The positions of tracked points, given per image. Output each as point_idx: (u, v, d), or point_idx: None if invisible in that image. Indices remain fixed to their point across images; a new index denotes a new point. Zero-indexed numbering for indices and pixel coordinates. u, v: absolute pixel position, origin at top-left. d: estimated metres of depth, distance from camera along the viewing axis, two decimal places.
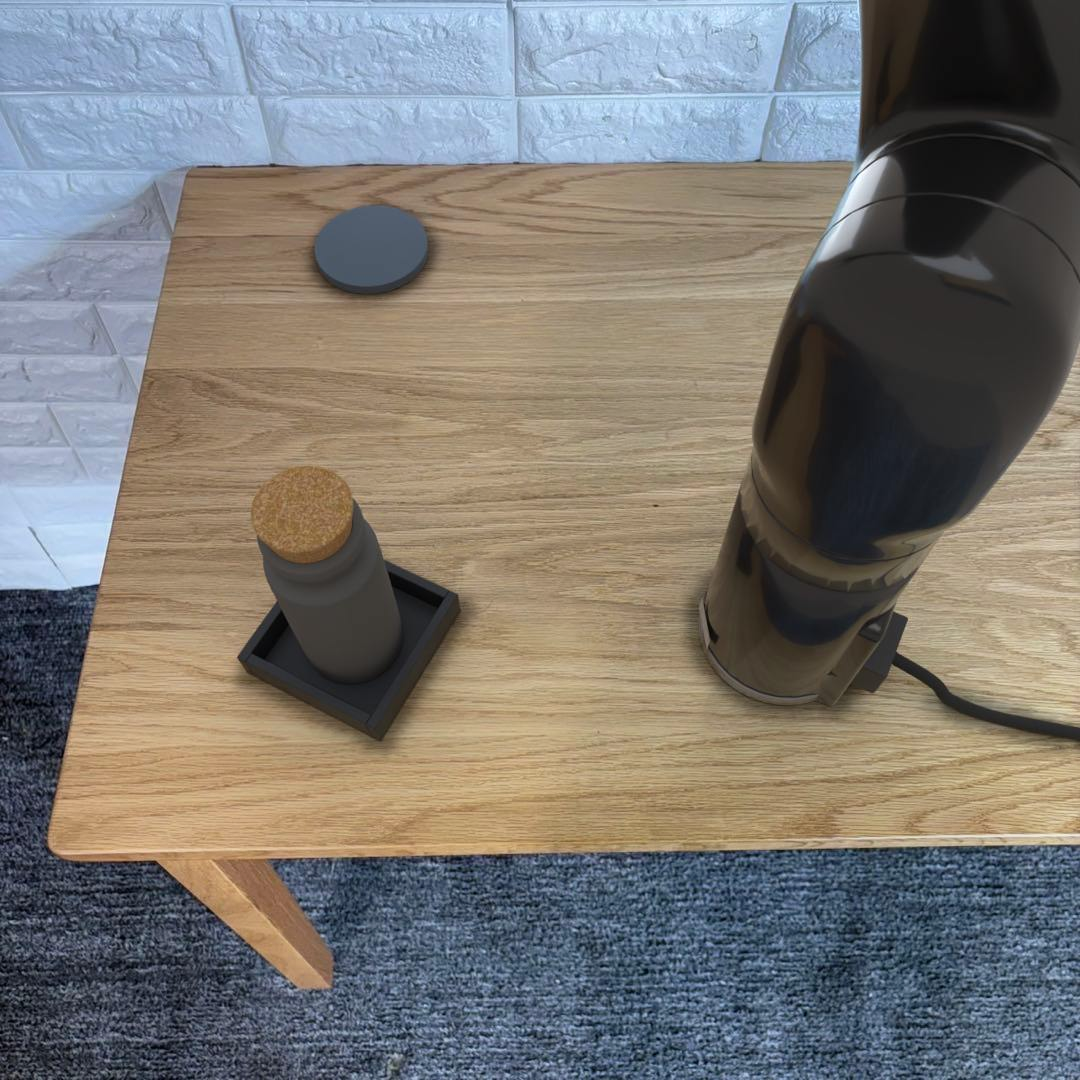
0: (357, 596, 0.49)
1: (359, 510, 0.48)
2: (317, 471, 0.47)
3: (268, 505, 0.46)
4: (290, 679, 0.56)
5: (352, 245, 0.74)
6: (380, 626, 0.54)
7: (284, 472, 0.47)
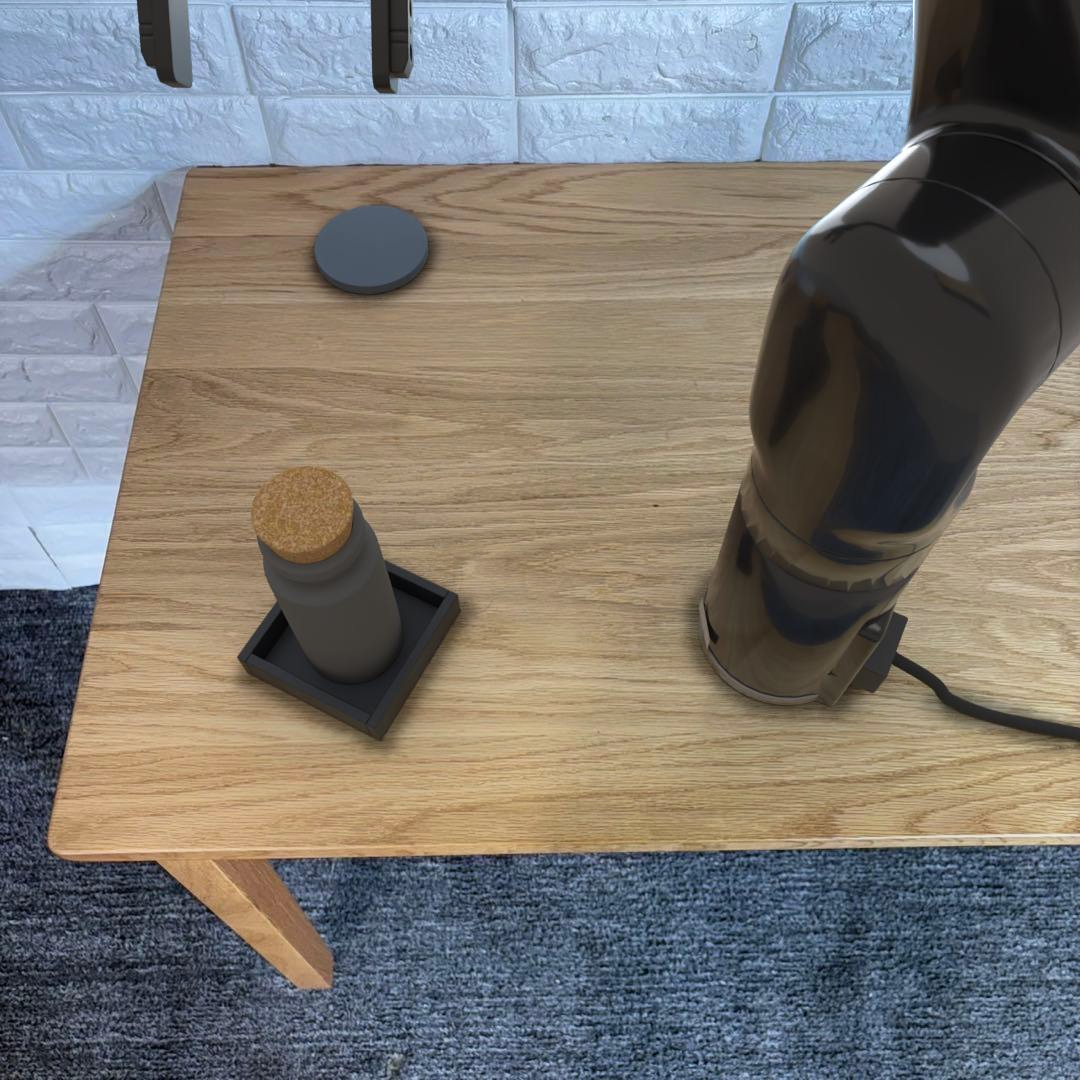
0: (357, 596, 0.49)
1: (359, 510, 0.48)
2: (317, 471, 0.47)
3: (268, 506, 0.46)
4: (290, 679, 0.56)
5: (352, 245, 0.74)
6: (380, 626, 0.54)
7: (284, 472, 0.47)
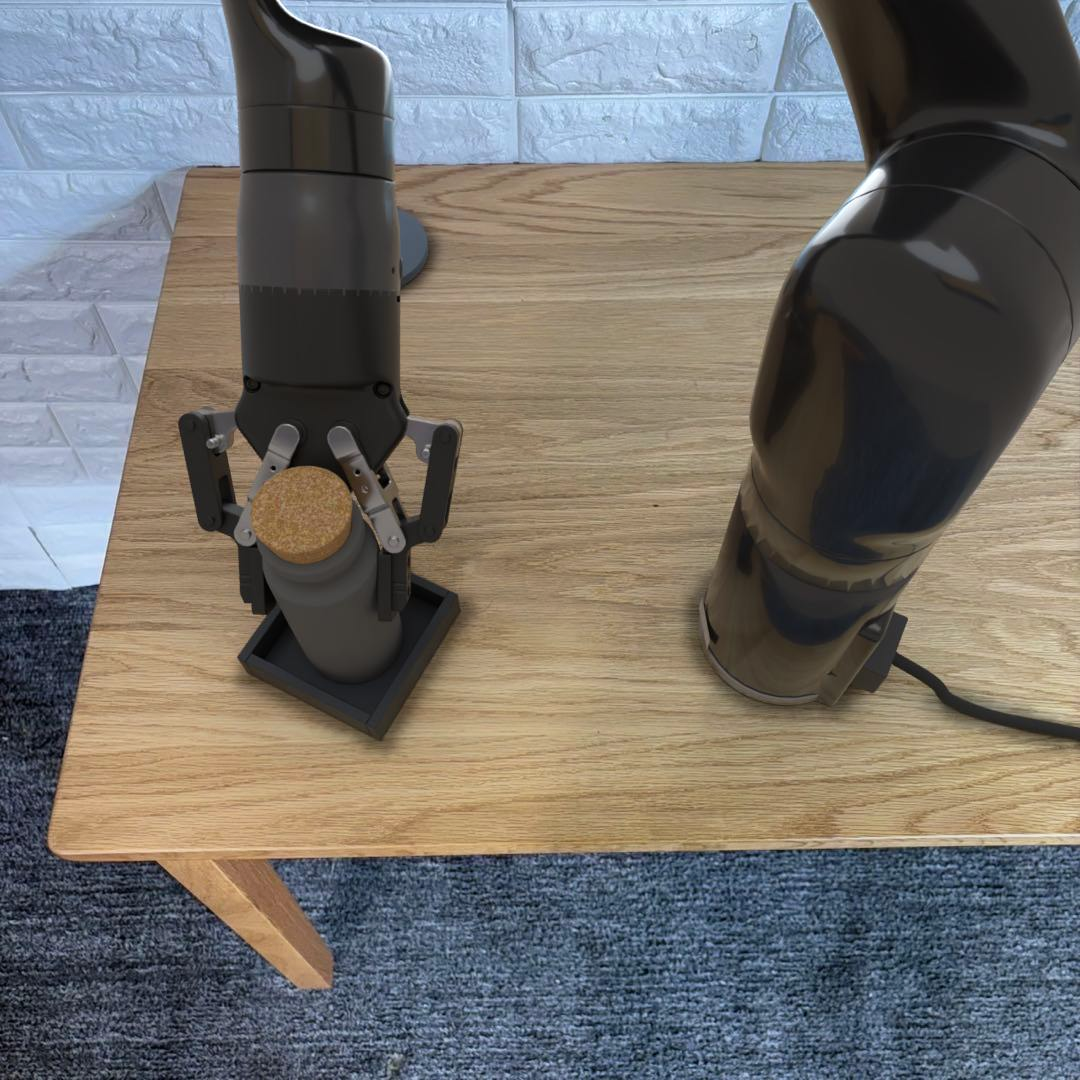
0: (356, 596, 0.49)
1: (358, 510, 0.48)
2: (316, 471, 0.47)
3: (267, 506, 0.46)
4: (290, 679, 0.56)
5: None
6: (380, 626, 0.54)
7: (283, 472, 0.47)
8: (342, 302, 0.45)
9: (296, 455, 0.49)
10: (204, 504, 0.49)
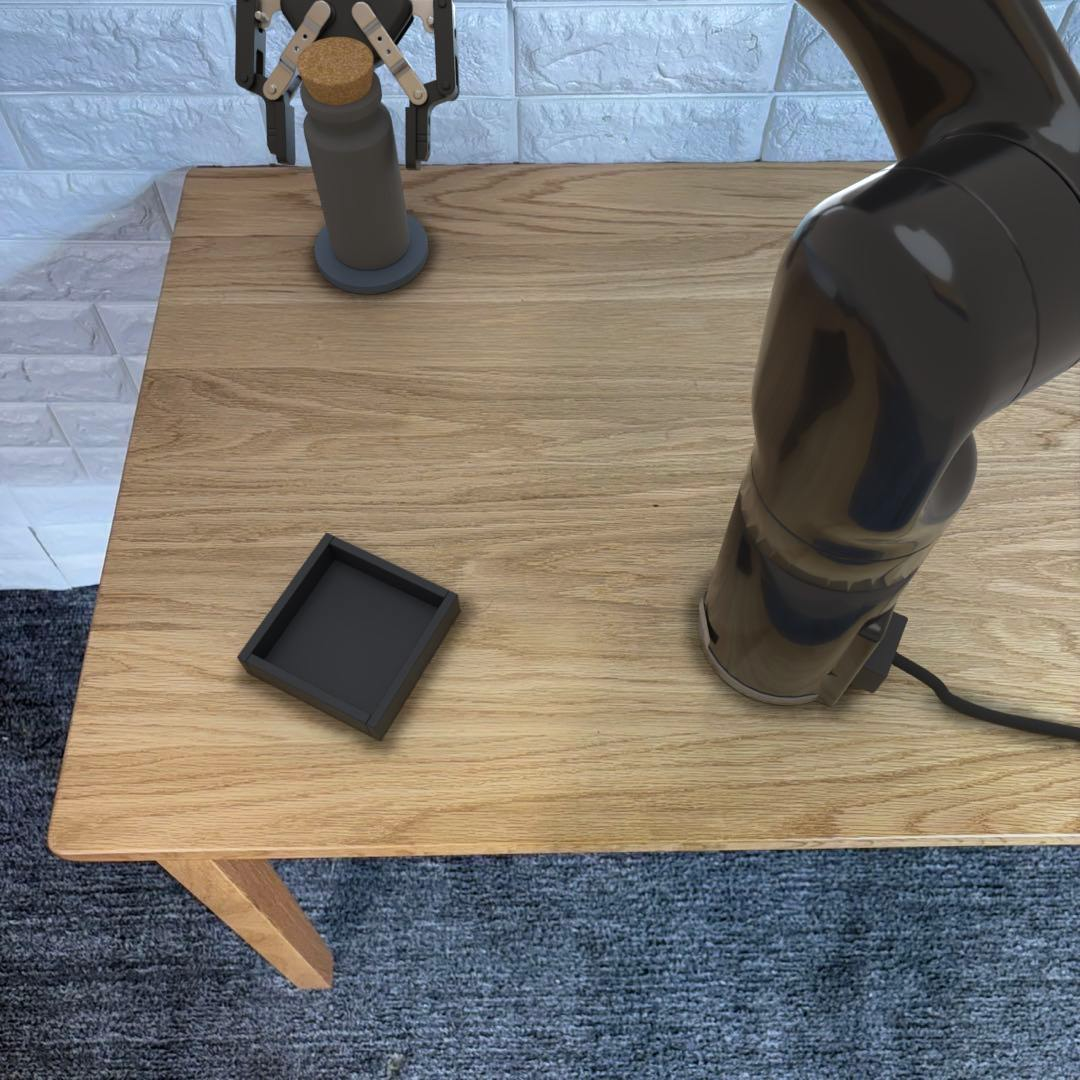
0: (375, 150, 0.65)
1: (377, 76, 0.64)
2: (346, 39, 0.62)
3: (309, 58, 0.61)
4: (290, 679, 0.56)
5: None
6: (392, 201, 0.69)
7: (321, 40, 0.62)
8: None
9: (327, 32, 0.64)
10: (242, 64, 0.64)
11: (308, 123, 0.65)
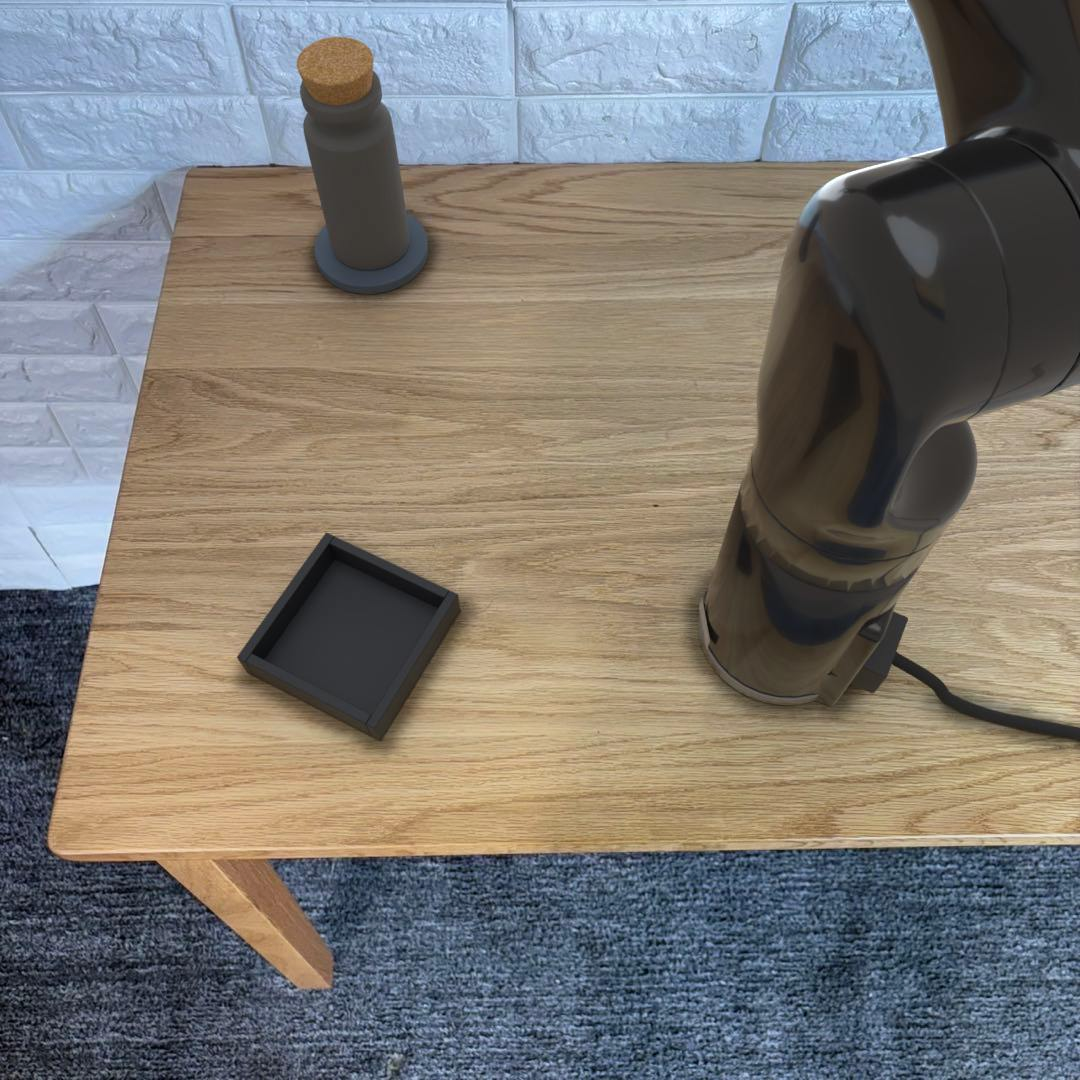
0: (375, 150, 0.65)
1: (377, 76, 0.64)
2: (346, 39, 0.62)
3: (309, 58, 0.61)
4: (290, 679, 0.56)
5: None
6: (392, 201, 0.69)
7: (321, 40, 0.62)
8: None
9: None
10: None
11: (308, 123, 0.65)
